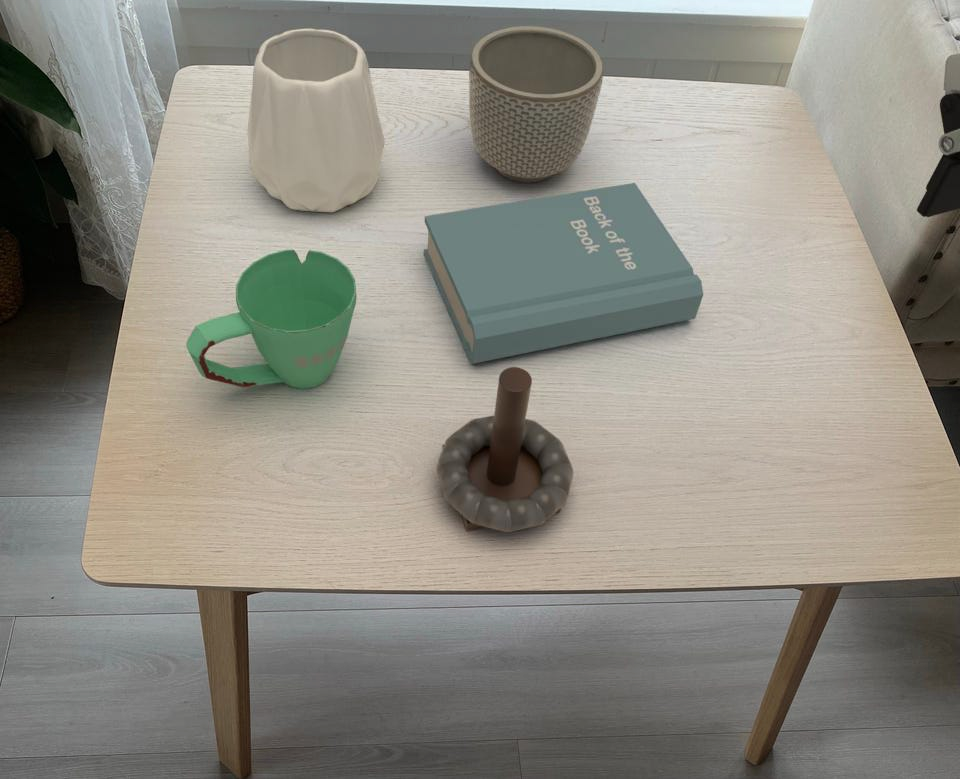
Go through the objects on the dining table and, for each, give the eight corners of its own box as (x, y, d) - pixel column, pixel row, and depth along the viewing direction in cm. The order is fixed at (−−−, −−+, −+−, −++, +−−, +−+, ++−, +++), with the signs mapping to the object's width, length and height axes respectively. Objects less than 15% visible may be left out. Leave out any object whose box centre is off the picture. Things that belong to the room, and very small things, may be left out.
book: (625, 220, 102) (634, 182, 98) (693, 324, 93) (705, 287, 89) (423, 254, 96) (424, 216, 93) (472, 369, 87) (476, 332, 83)
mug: (325, 314, 90) (319, 234, 82) (380, 381, 85) (379, 302, 78) (179, 376, 84) (158, 296, 76) (229, 452, 79) (211, 374, 71)
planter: (606, 189, 105) (628, 86, 95) (491, 214, 101) (502, 109, 91) (553, 119, 113) (568, 17, 103) (444, 139, 109) (449, 35, 99)
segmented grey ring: (545, 417, 82) (548, 399, 80) (587, 521, 76) (592, 504, 74) (424, 439, 80) (424, 421, 78) (457, 548, 73) (458, 532, 72)
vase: (378, 229, 98) (377, 101, 87) (241, 219, 98) (221, 90, 86) (390, 147, 107) (390, 22, 96) (264, 138, 107) (249, 11, 95)
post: (531, 436, 82) (550, 331, 72) (560, 512, 78) (585, 411, 67) (441, 452, 81) (448, 347, 70) (466, 531, 76) (477, 431, 66)
